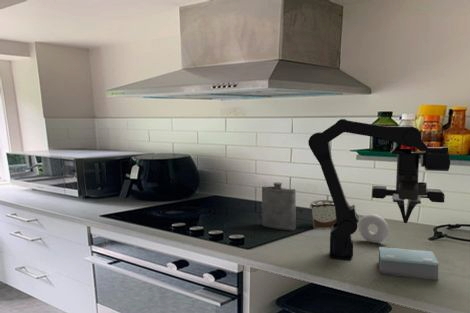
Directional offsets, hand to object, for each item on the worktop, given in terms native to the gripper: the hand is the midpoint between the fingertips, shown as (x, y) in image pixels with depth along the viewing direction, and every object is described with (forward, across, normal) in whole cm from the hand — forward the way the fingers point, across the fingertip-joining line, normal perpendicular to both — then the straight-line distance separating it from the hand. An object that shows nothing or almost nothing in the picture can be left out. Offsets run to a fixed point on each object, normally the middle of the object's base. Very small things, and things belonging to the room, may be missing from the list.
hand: (405, 222), depth 108 cm
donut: (+12, -9, +16) cm, 22 cm away
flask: (+13, -44, +23) cm, 51 cm away
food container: (+12, -27, +31) cm, 43 cm away
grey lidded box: (+12, 0, -7) cm, 14 cm away
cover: (+8, 0, -7) cm, 10 cm away
